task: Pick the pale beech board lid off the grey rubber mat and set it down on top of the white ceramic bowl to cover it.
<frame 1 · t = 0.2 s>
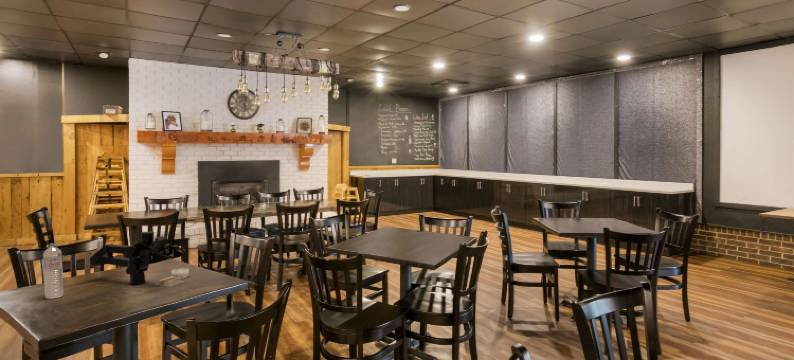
hand: (176, 256, 222), 16 cm above the table, tool horizontal, fingers open, 9 cm apart
mat: (170, 283, 231), on the table
bowl: (180, 278, 242), on the table
water bottle: (54, 297, 210), on the table
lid: (170, 282, 231), point 1 cm above the table, touching mat
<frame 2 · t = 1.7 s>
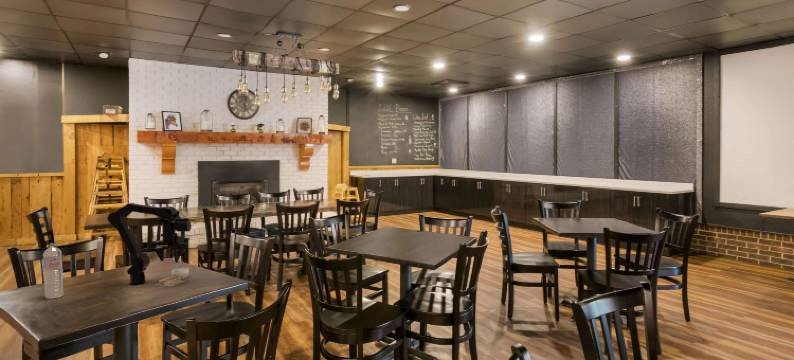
hand: (169, 261, 231), 11 cm above the table, tool pointing down, fingers open, 9 cm apart
nothing on the table moved.
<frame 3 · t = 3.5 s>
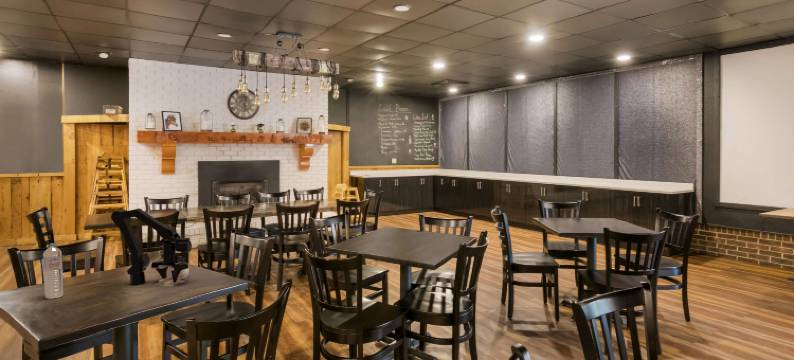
hand: (170, 281, 231), 1 cm above the table, tool pointing down, fingers closed on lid, 6 cm apart
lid: (170, 282, 231), point 1 cm above the table, touching gripper, mat
everything else where it was.
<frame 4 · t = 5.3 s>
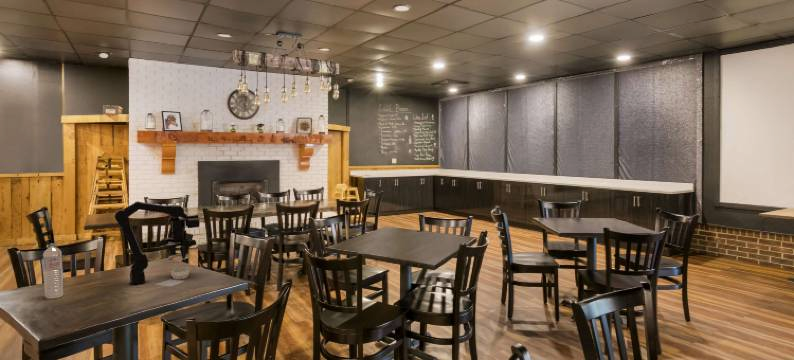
hand: (179, 258, 240), 11 cm above the table, tool pointing down, fingers closed on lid, 6 cm apart
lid: (179, 259, 240), point 11 cm above the table, touching gripper
everything else where it was.
when the fingers open (6 cm above the table, at t = 7.2 s): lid stays where it is, resting on bowl.
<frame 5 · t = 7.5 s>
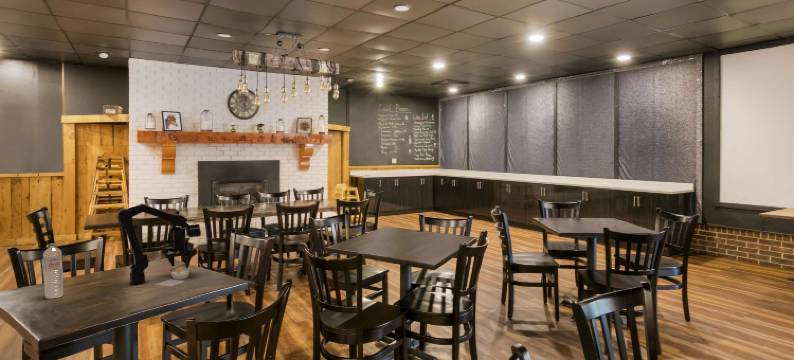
hand: (180, 267, 241), 6 cm above the table, tool pointing down, fingers open, 9 cm apart
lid: (180, 269, 241), point 5 cm above the table, touching bowl
everything else where it was.
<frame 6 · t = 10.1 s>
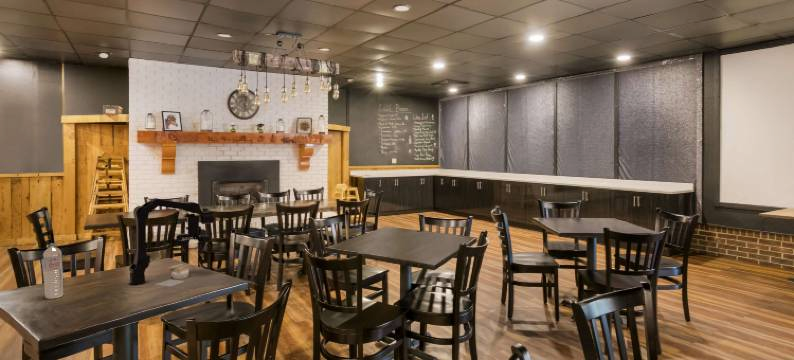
hand: (193, 253, 248), 12 cm above the table, tool pointing down, fingers open, 9 cm apart
nothing on the table moved.
at the end: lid 0.0 cm off-centre on the bowl, point 4.6 cm above the bowl's base; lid tilted 0°; the gripper is holding nothing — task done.
